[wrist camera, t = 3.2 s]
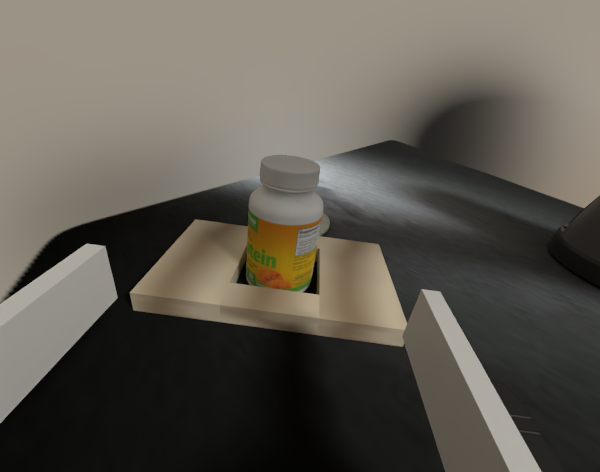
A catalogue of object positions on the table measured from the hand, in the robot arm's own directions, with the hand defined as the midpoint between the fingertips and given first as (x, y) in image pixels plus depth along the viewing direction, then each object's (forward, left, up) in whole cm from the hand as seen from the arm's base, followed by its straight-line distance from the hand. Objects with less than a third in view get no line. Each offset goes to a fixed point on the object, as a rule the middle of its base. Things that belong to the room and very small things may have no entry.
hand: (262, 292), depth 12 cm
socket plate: (0, -10, -6) cm, 12 cm away
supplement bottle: (0, -10, -7) cm, 12 cm away
